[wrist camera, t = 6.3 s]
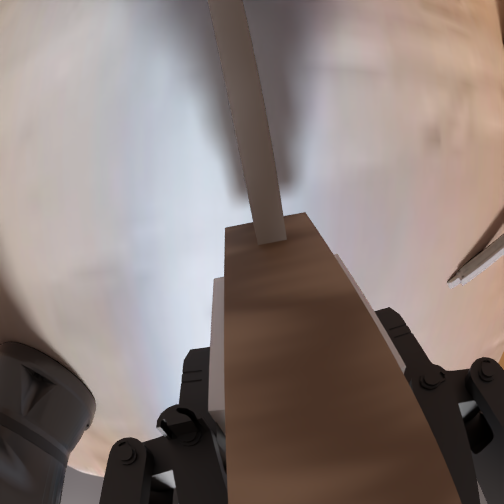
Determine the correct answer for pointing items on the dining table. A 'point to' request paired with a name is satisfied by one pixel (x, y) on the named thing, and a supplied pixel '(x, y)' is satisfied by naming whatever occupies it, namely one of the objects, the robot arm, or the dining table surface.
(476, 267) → the caliper
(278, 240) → the wooden mallet
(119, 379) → the dining table surface
